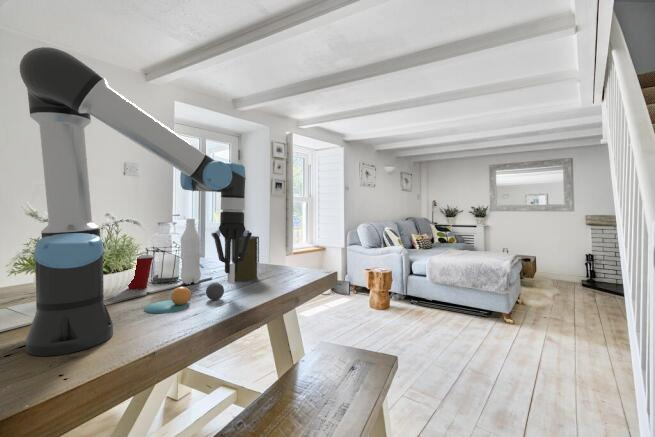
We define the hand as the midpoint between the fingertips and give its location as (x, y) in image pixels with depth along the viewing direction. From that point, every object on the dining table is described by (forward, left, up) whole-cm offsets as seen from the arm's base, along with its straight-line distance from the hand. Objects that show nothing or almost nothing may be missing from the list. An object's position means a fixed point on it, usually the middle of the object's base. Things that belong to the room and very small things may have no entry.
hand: (230, 282), depth 106 cm
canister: (+25, +10, -5) cm, 27 cm away
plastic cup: (0, +39, -5) cm, 39 cm away
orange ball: (-11, +10, -2) cm, 15 cm away
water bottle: (+12, +26, -5) cm, 29 cm away
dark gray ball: (-4, +3, -2) cm, 6 cm away
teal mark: (-14, +12, -5) cm, 20 cm away
